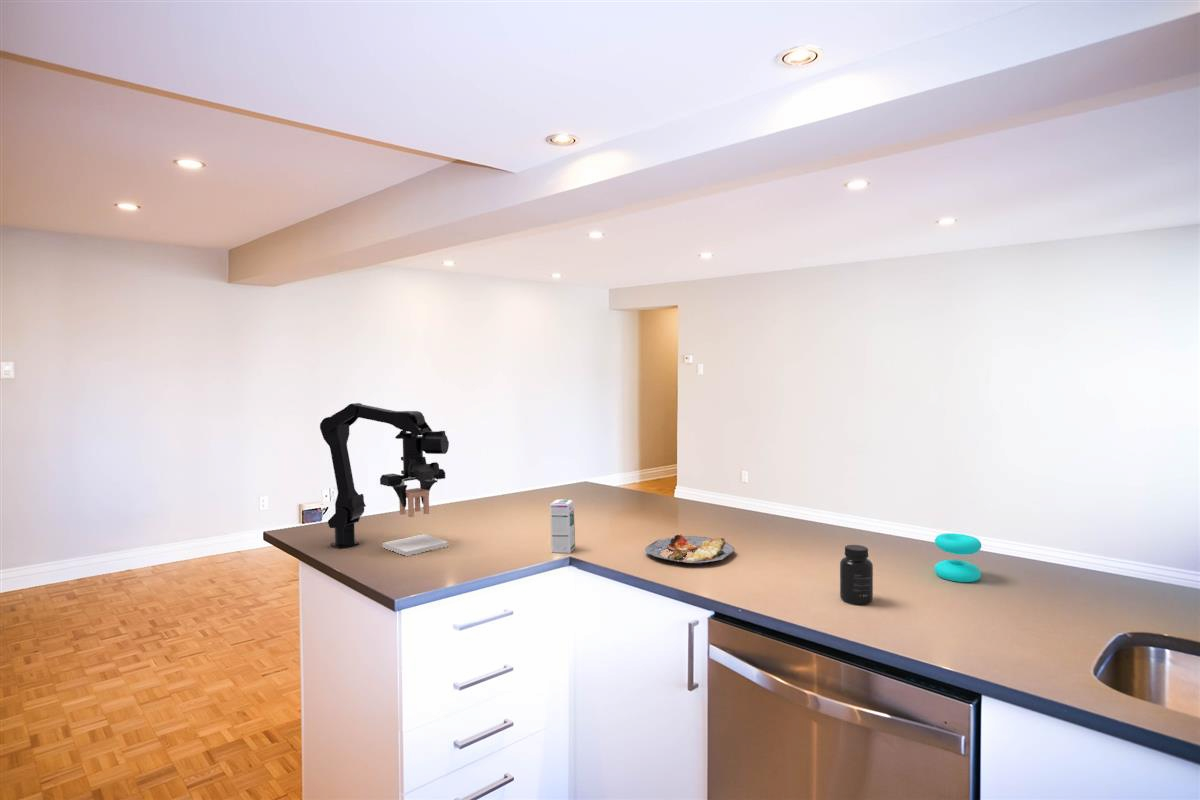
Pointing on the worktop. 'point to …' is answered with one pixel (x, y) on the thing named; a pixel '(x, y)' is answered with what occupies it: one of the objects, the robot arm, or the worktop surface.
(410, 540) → the white board
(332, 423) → the robot arm
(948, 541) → the donuts
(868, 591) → the supplement bottle
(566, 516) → the syrup box
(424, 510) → the stool
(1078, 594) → the worktop surface
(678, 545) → the food plate
